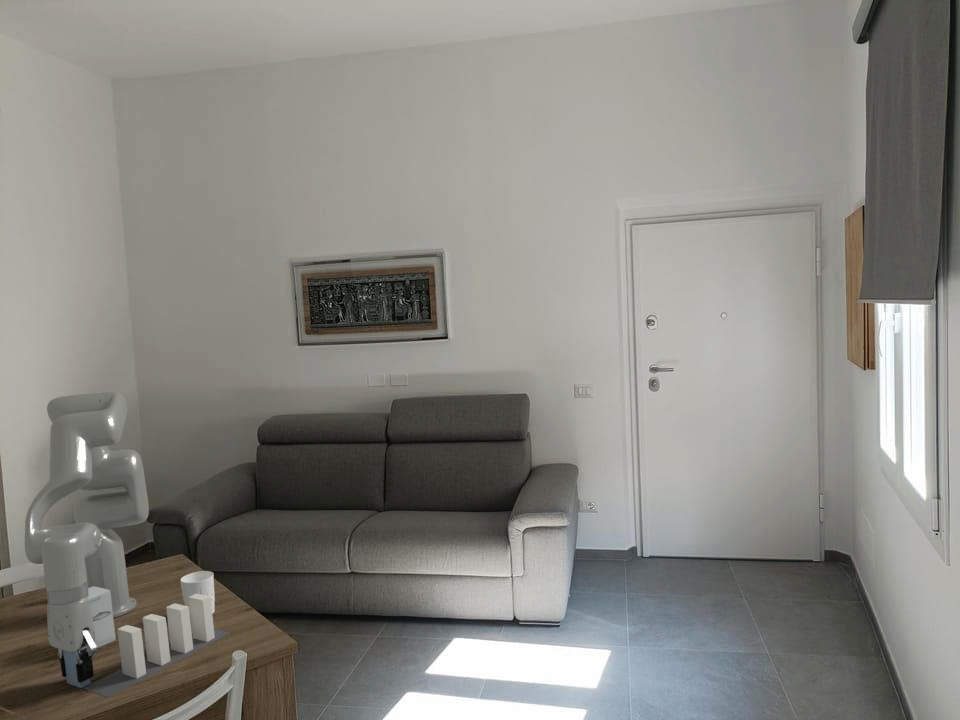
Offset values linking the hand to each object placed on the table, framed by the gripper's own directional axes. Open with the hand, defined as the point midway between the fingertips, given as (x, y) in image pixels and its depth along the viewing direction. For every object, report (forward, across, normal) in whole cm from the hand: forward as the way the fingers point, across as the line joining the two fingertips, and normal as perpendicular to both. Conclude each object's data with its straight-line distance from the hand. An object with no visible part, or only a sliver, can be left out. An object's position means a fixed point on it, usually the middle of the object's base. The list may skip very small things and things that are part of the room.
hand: (78, 675), depth 158 cm
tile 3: (+2, +8, +14) cm, 16 cm away
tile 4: (+2, +8, +20) cm, 21 cm away
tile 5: (+2, +8, +26) cm, 27 cm away
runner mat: (+2, +8, +14) cm, 16 cm away
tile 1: (+2, 0, 0) cm, 2 cm away
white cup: (+2, -5, +35) cm, 35 cm away
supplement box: (+2, -16, +13) cm, 21 cm away
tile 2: (+2, +8, +8) cm, 11 cm away
